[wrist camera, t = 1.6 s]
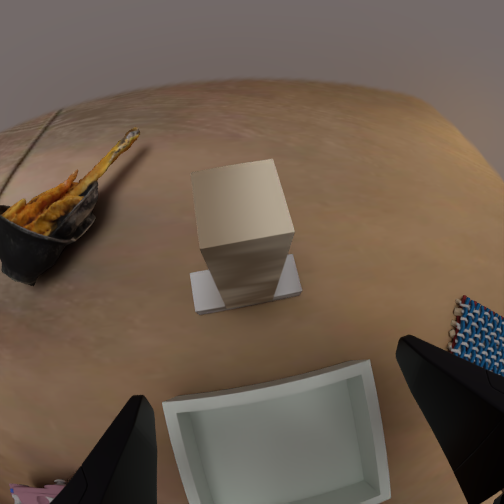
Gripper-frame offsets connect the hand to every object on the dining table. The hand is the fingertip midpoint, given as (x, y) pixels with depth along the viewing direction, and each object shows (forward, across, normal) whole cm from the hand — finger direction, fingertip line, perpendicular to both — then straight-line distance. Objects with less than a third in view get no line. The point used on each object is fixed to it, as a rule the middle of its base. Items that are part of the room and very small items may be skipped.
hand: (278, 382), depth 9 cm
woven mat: (+5, -20, +14) cm, 25 cm away
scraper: (+14, 0, +4) cm, 14 cm away
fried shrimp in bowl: (+21, +15, -2) cm, 26 cm away
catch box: (+4, 0, +14) cm, 14 cm away
